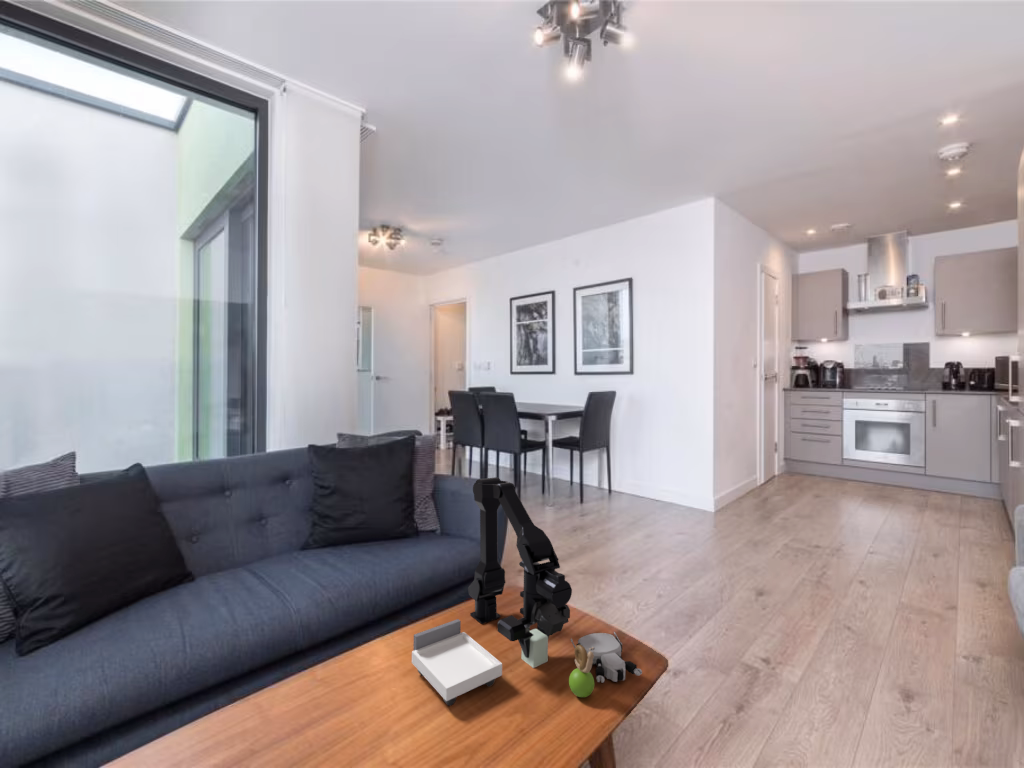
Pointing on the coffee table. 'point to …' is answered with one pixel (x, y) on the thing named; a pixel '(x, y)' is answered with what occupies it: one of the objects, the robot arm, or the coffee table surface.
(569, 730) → the coffee table surface
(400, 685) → the coffee table surface
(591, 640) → the robot toy
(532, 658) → the part block
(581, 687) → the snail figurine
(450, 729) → the coffee table surface
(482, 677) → the tray
